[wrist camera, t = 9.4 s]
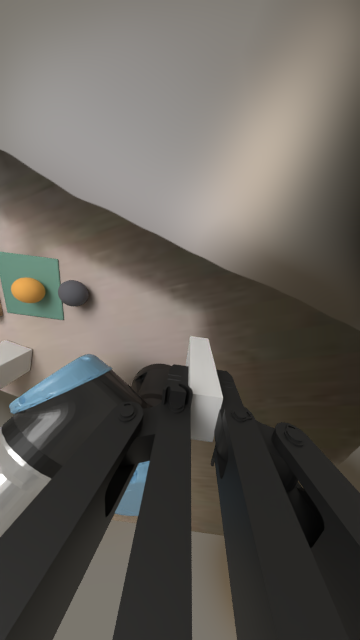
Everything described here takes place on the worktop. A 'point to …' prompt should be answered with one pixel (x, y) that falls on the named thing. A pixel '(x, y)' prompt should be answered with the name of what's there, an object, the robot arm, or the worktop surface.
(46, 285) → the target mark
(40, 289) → the object ball
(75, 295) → the dark gray ball
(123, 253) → the worktop surface
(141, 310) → the worktop surface
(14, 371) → the milk carton
